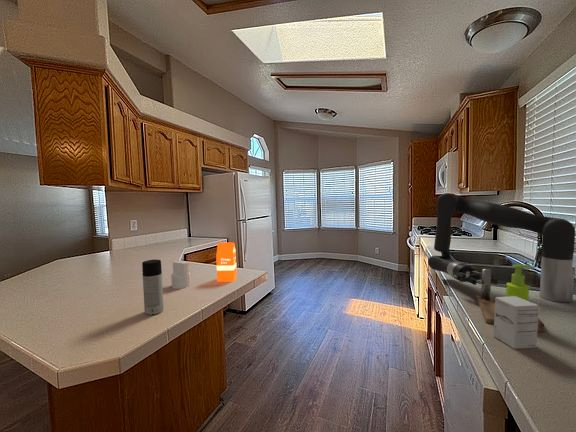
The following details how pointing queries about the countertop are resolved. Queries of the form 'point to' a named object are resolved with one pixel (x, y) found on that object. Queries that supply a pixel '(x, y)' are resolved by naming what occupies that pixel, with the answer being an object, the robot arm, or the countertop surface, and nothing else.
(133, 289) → the countertop surface
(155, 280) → the spray can
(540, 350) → the countertop surface
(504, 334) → the supplement box
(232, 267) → the orange juice
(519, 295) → the soap dispenser
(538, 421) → the countertop surface
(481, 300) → the base with upright cylinder
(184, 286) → the white lidded jar
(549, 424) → the countertop surface
